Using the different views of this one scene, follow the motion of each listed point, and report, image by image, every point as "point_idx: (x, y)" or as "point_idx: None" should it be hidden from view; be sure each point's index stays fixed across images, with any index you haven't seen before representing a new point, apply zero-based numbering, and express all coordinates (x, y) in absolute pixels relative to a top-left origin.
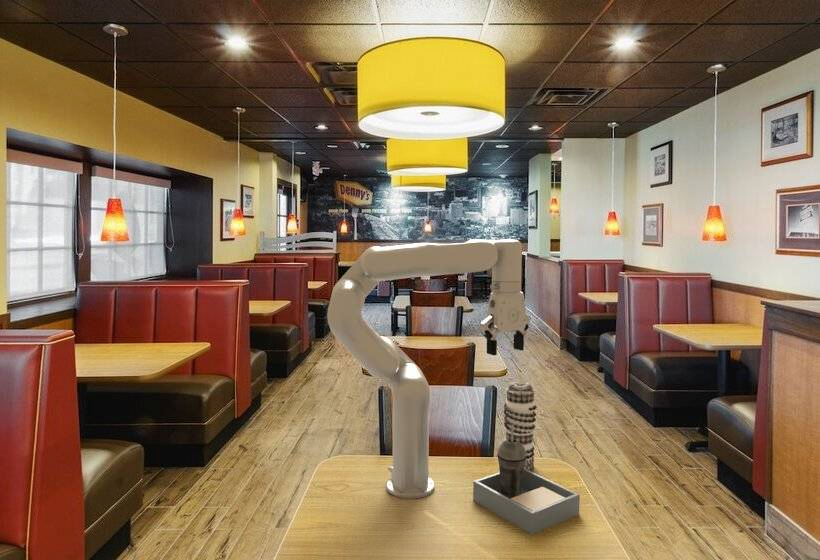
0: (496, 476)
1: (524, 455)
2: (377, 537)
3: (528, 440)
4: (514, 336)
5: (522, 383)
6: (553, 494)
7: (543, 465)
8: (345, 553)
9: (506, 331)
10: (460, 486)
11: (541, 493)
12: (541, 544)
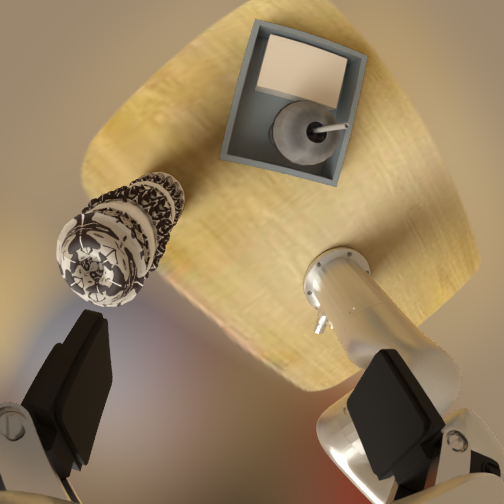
0: (288, 168)
1: (305, 101)
2: (443, 222)
3: (146, 186)
4: (87, 451)
5: (77, 273)
6: (272, 57)
7: (111, 178)
8: (470, 226)
9: (439, 493)
10: (285, 231)
11: (284, 75)
12: None
